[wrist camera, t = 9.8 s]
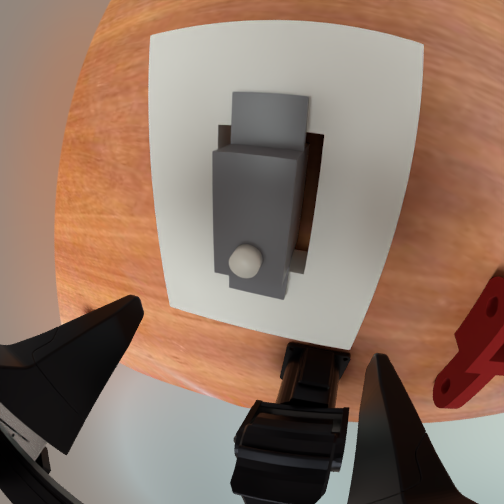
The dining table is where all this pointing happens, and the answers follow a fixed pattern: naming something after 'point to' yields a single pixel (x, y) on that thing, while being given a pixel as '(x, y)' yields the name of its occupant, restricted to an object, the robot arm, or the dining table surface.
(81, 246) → the dining table surface
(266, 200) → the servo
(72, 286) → the dining table surface
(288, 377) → the robot arm
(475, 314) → the mechanical linkage
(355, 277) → the frame
